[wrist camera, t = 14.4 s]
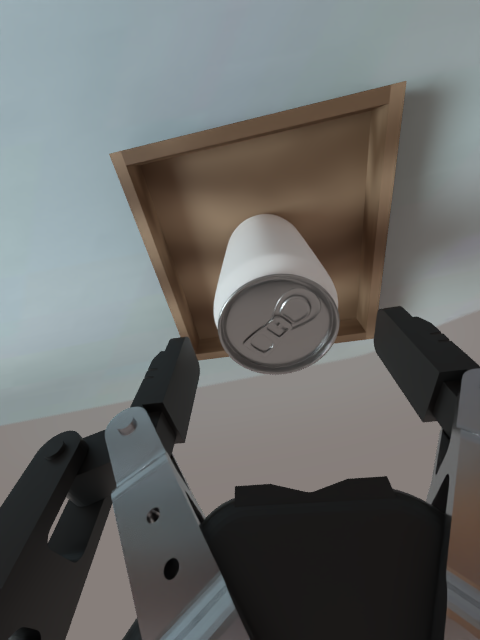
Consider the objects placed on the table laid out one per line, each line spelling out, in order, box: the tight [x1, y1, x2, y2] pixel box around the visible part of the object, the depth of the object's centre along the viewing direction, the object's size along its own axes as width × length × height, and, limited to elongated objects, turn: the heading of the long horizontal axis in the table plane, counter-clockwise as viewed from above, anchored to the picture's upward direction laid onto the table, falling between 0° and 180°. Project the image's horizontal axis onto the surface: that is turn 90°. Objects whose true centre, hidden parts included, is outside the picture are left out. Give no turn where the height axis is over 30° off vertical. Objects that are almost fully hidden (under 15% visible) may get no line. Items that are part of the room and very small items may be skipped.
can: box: [214, 214, 340, 375], centre depth 17 cm, size 6×6×12 cm
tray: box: [109, 81, 406, 360], centre depth 21 cm, size 18×18×4 cm
